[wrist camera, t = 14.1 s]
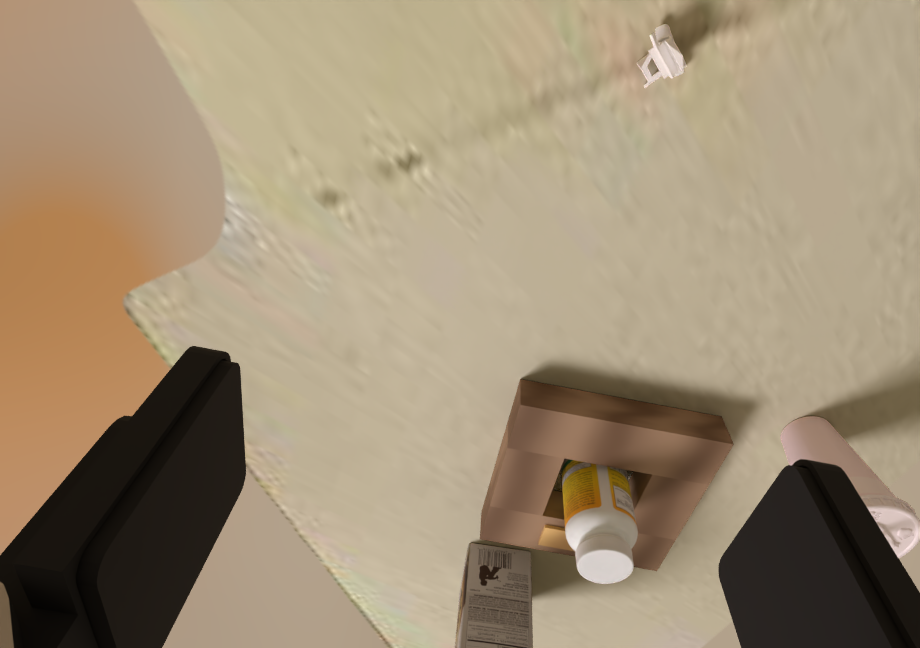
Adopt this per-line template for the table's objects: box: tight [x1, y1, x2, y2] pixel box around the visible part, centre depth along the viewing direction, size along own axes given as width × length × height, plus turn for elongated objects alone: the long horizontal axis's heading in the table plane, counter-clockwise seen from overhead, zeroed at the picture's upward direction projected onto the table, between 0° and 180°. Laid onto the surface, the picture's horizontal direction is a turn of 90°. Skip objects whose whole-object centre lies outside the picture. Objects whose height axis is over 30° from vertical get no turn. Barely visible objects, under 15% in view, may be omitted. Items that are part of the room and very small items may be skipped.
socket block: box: [480, 379, 734, 571], centre depth 48 cm, size 16×16×3 cm
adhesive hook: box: [636, 24, 687, 88], centre depth 31 cm, size 3×3×3 cm
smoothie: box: [781, 416, 920, 558], centre depth 40 cm, size 6×6×14 cm
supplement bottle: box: [561, 459, 638, 584], centre depth 45 cm, size 5×5×10 cm
